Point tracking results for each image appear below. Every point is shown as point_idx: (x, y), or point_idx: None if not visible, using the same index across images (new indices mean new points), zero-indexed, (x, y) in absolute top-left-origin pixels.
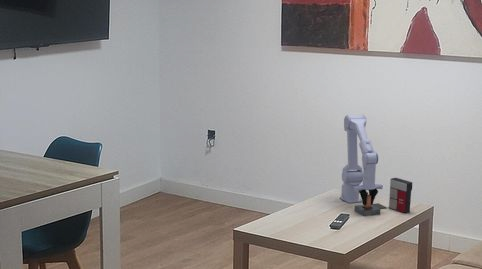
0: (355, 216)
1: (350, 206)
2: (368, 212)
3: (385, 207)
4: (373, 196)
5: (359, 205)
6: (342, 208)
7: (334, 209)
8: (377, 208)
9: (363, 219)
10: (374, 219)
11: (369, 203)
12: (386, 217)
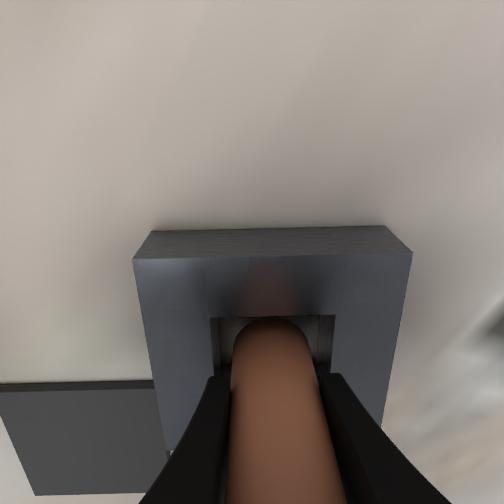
0: (482, 243)
1: None
2: (330, 242)
3: (5, 392)
4: (198, 501)
5: None
6: None
7: (496, 462)
8: (160, 301)
9: (484, 99)
10: (341, 46)
11: (274, 385)
12: (122, 82)
